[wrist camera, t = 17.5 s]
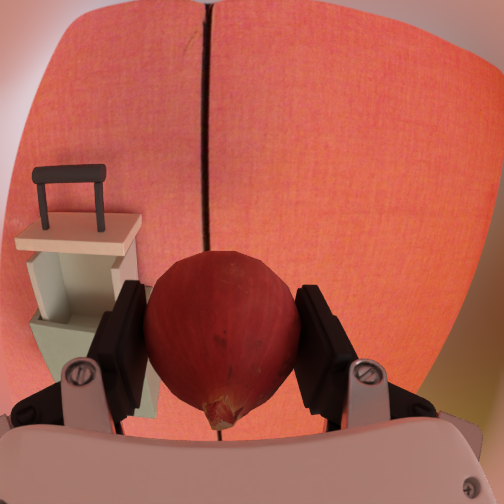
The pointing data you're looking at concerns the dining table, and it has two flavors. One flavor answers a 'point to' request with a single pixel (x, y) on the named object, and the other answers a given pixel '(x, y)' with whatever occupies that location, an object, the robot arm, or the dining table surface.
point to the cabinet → (77, 345)
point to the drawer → (78, 251)
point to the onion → (222, 333)
